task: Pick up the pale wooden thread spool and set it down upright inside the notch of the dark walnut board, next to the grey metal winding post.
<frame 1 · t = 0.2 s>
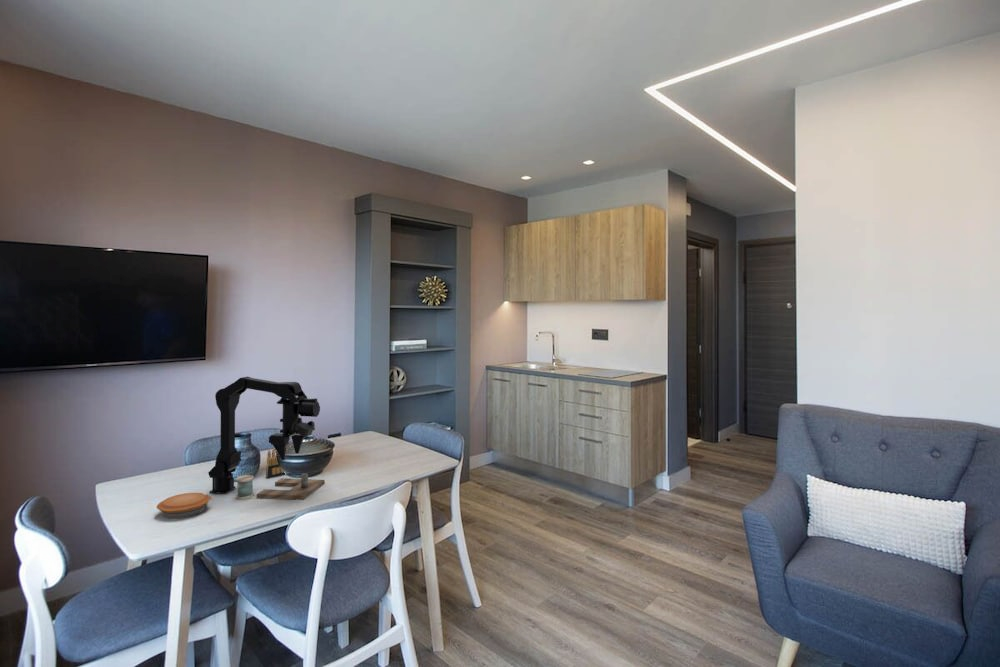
hand: (290, 456, 185), 14 cm above the table, fingers open, 9 cm apart
walnut notched board: (291, 490, 189), on the table
pie: (184, 512, 167), on the table
ammunition clip: (279, 475, 207), on the table
thread spool: (245, 496, 182), on the table
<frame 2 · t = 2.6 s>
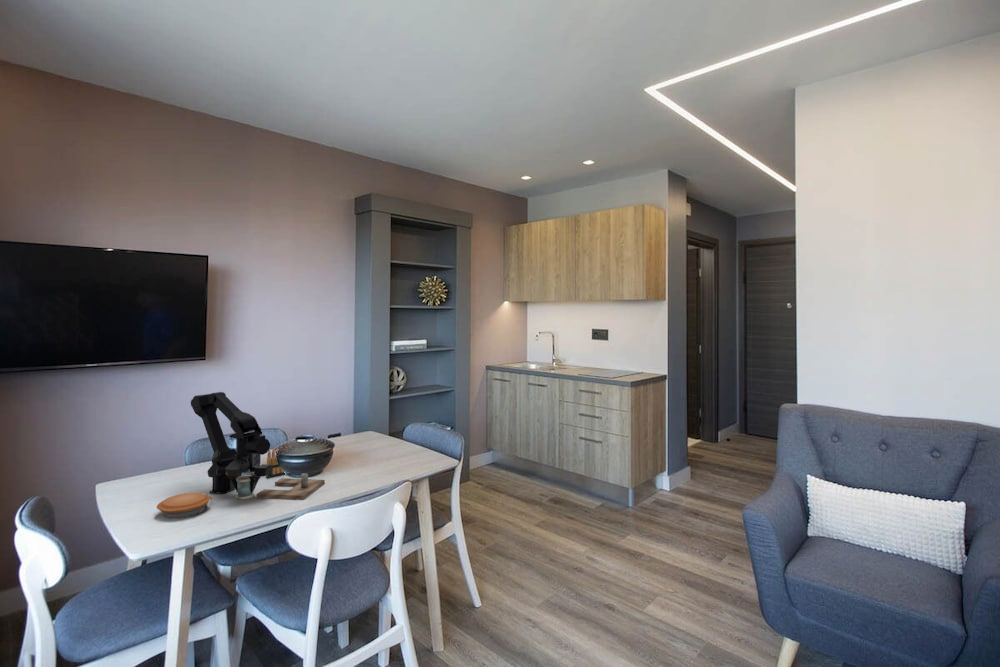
hand: (245, 492, 182), 2 cm above the table, fingers closed on thread spool, 5 cm apart
thread spool: (245, 496, 182), on the table, touching gripper
everything else where it was.
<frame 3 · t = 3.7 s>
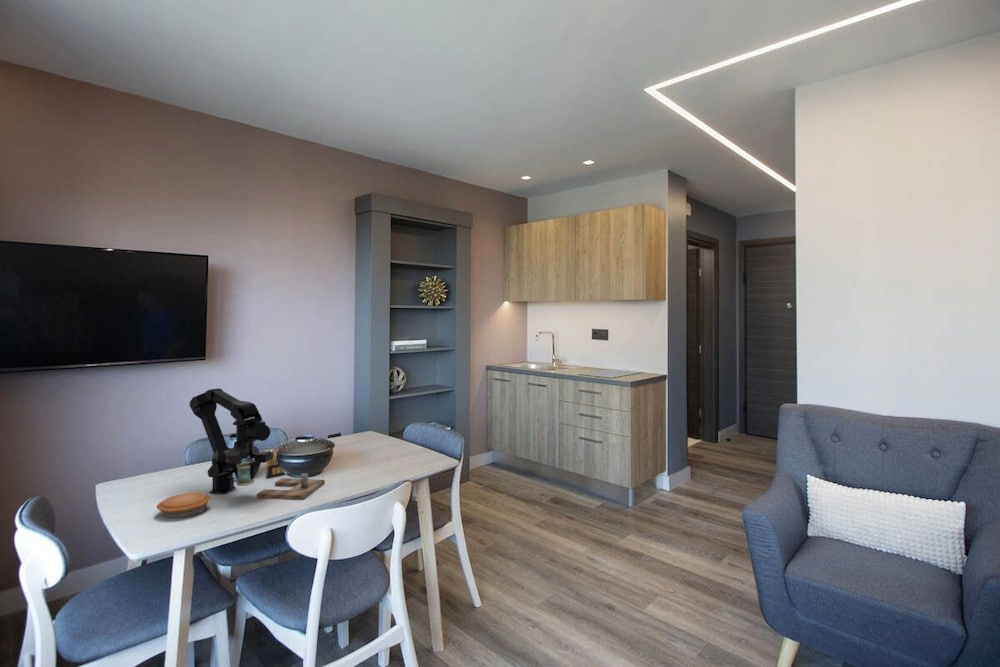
hand: (245, 479, 182), 7 cm above the table, fingers closed on thread spool, 5 cm apart
thread spool: (245, 483, 182), point 5 cm above the table, touching gripper
everything else where it was.
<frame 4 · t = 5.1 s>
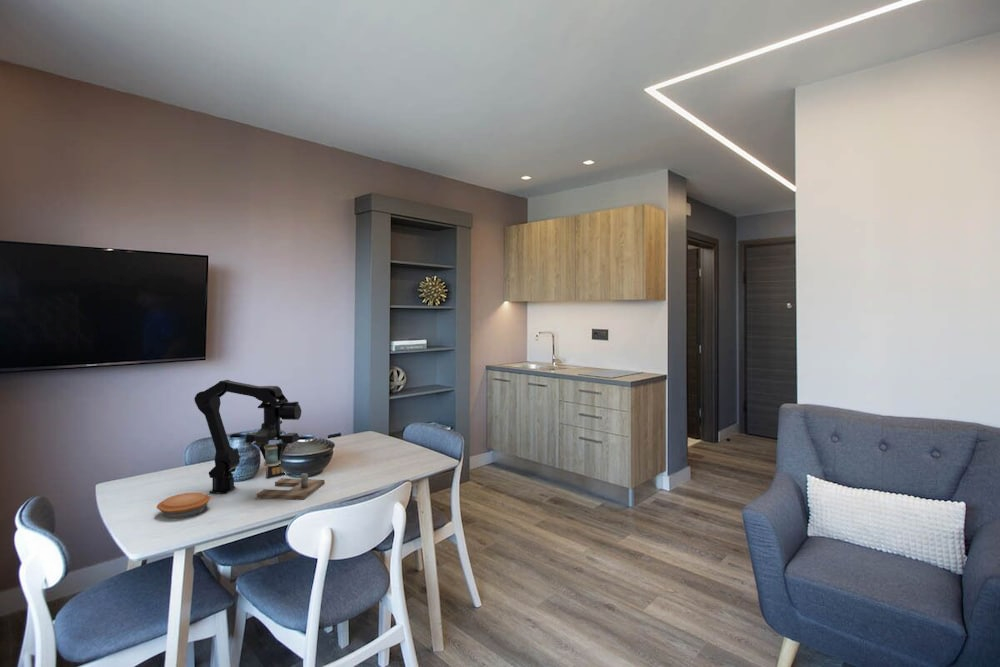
hand: (272, 460, 187), 12 cm above the table, fingers closed on thread spool, 5 cm apart
thread spool: (272, 464, 187), point 11 cm above the table, touching gripper
everything else where it was.
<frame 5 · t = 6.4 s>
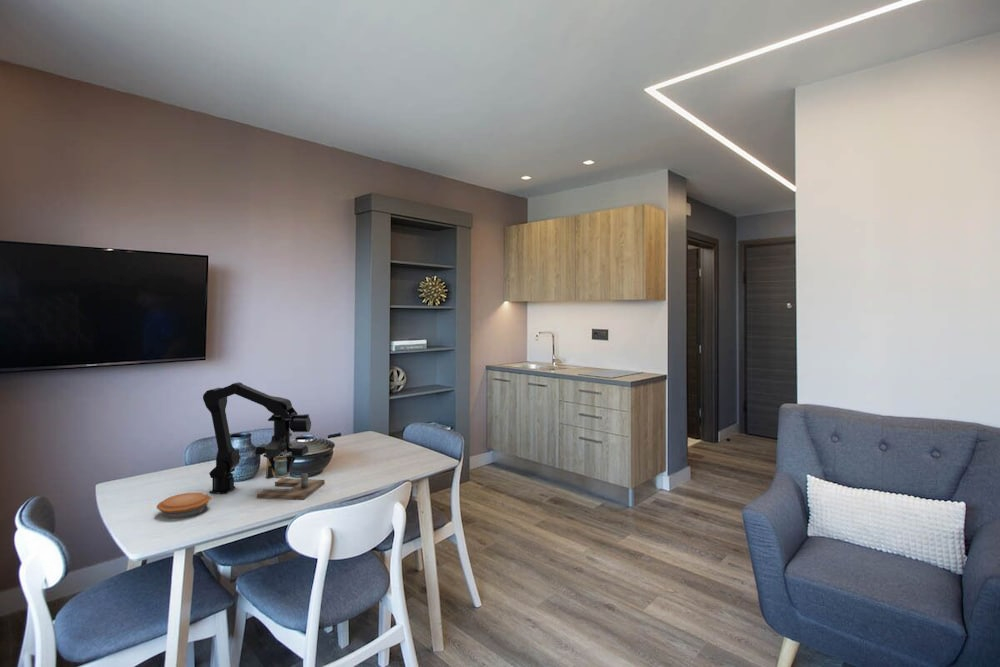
hand: (281, 472, 189), 7 cm above the table, fingers closed on thread spool, 5 cm apart
thread spool: (281, 475, 189), point 6 cm above the table, touching gripper
everything else where it was.
when the fingers open (3 cm above the table, at t = 7.5 s): thread spool drops 2 cm, on the table.
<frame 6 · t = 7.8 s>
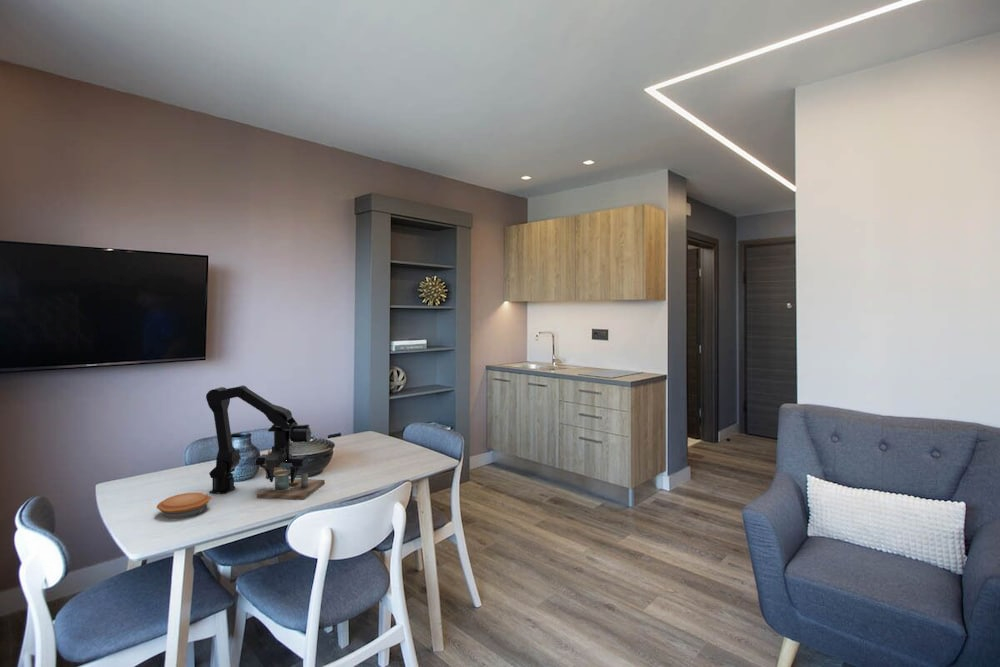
hand: (281, 482, 189), 3 cm above the table, fingers open, 8 cm apart
thread spool: (281, 490, 189), on the table
everything else where it was.
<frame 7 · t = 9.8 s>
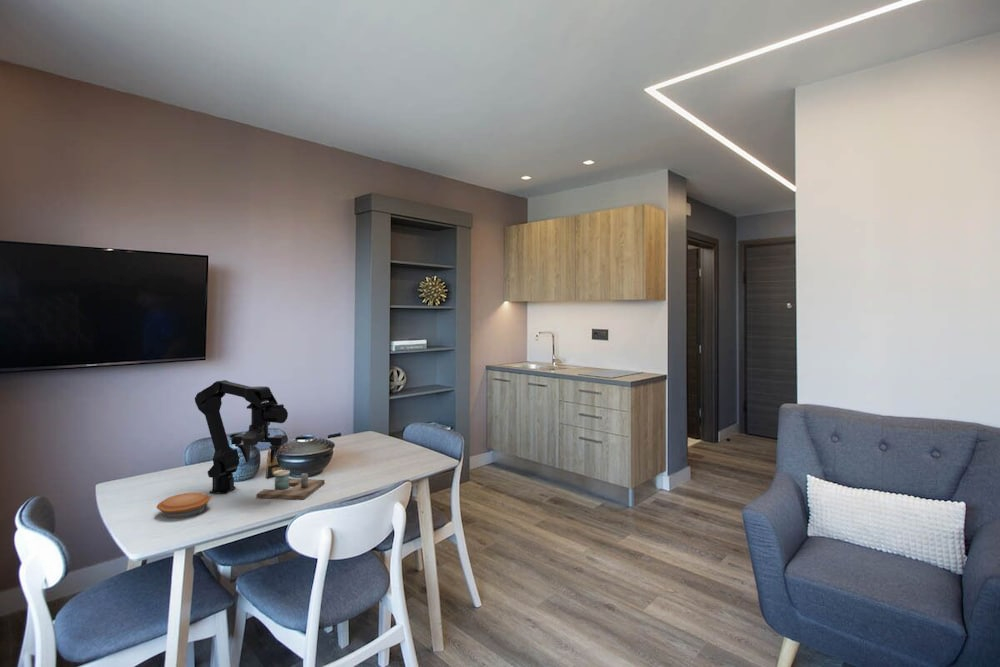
hand: (259, 462, 182), 13 cm above the table, fingers open, 9 cm apart
nothing on the table moved.
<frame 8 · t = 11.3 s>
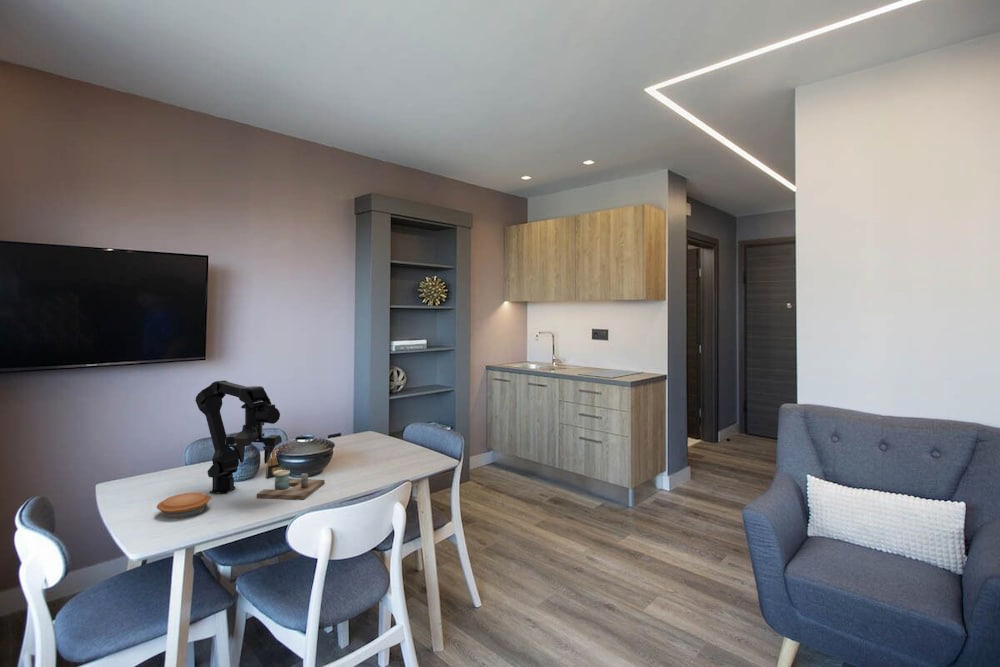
hand: (253, 463, 180), 13 cm above the table, fingers open, 9 cm apart
nothing on the table moved.
at the end: thread spool 0.1 cm from the target spot, on the table; thread spool tilted 0°; the gripper is holding nothing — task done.
